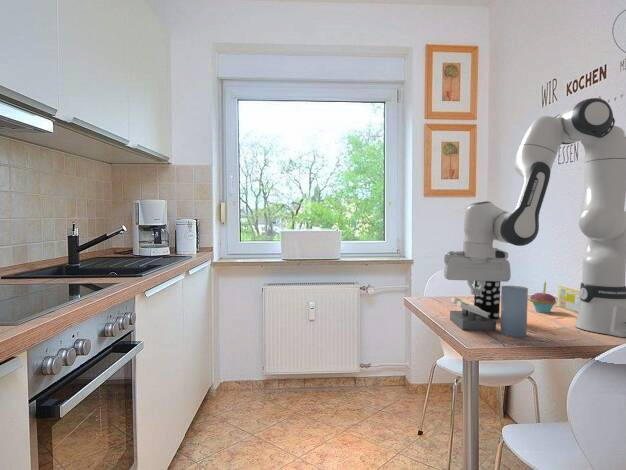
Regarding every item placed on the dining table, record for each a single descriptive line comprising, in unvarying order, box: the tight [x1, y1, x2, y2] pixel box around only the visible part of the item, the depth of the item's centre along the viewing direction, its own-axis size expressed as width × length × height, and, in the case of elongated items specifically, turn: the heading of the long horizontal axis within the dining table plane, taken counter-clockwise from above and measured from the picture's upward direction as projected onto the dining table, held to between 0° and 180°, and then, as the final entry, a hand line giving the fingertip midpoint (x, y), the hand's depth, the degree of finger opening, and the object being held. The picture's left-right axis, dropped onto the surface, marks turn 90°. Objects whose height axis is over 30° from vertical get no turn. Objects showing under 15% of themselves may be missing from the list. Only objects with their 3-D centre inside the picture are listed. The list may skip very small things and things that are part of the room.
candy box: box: [556, 286, 581, 314], centre depth 158 cm, size 16×2×8 cm, turn 0°
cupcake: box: [529, 280, 557, 314], centre depth 155 cm, size 9×8×12 cm
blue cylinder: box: [500, 285, 529, 338], centre depth 122 cm, size 7×7×14 cm
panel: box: [449, 308, 497, 332], centre depth 133 cm, size 10×14×5 cm
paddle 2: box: [456, 299, 489, 318], centre depth 129 cm, size 9×4×2 cm, turn 86°
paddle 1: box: [449, 296, 481, 310], centre depth 136 cm, size 9×4×2 cm, turn 86°
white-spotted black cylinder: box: [473, 281, 501, 321], centre depth 144 cm, size 8×8×20 cm
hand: (475, 294), depth 133 cm, fingers closed
